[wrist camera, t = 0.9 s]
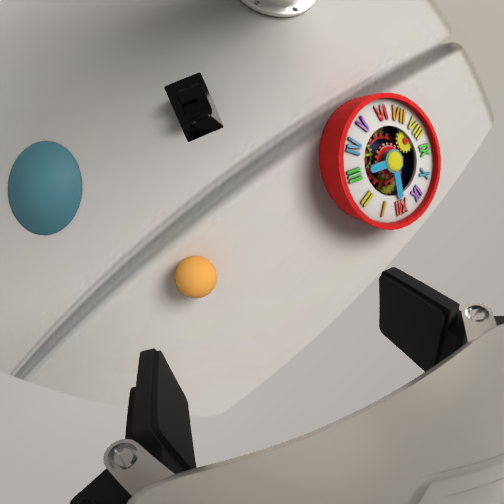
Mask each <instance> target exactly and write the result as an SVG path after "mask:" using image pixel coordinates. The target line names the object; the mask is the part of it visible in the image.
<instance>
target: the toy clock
mask: <svg viewBox="0 0 504 504" xmlns="http://www.w3.org/2000/svg"><path fill="white" fill-rule="evenodd" d="M319 158H320V169H321V174H322V178H323V181H324V184H325V186H326V189H327V191H328V193H329V194H330V196H331V198H332V199H333V200H334V202H335V203H336V204H337V205H338V207H340V208H341V209H342V210H343V211H344V212H345V213H347V214H349V215H351V216H352V217H354V218H357V219H359V220H361V221H363V222H366V223H368V224H370V225H372V226H374V227H378V228H381V229H386V230H394V229H400V228H403V227H405V226H408V225H410V224H411V223H413V222H414V221H416V220H417V219H418V218H419V217H420V216H421V215H422V214H423V213H424V212H425V210H426V209H427V208H428V206H429V205H430V203H431V201H432V199H433V197H434V195H435V192H436V190H437V186H438V182H439V178H440V169H441V156H440V148H439V143H438V139H437V136H436V133H435V131H434V128H433V126H432V124H431V122H430V120H429V119H428V117H427V116H426V115H425V113H424V112H423V111H422V109H421V108H419V107H418V106H417V105H416V104H415V103H414V102H412V101H411V100H409V99H408V98H406V97H404V96H401V95H399V94H394V93H378V94H373V95H368V96H363V97H358V98H355V99H352V100H349V101H348V102H346V103H344V104H343V105H341V106H340V107H339V108H338V109H337V110H336V111H335V112H334V113H333V114H332V116H331V117H330V119H329V120H328V122H327V124H326V126H325V129H324V131H323V134H322V138H321V142H320V152H319Z"/></svg>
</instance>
